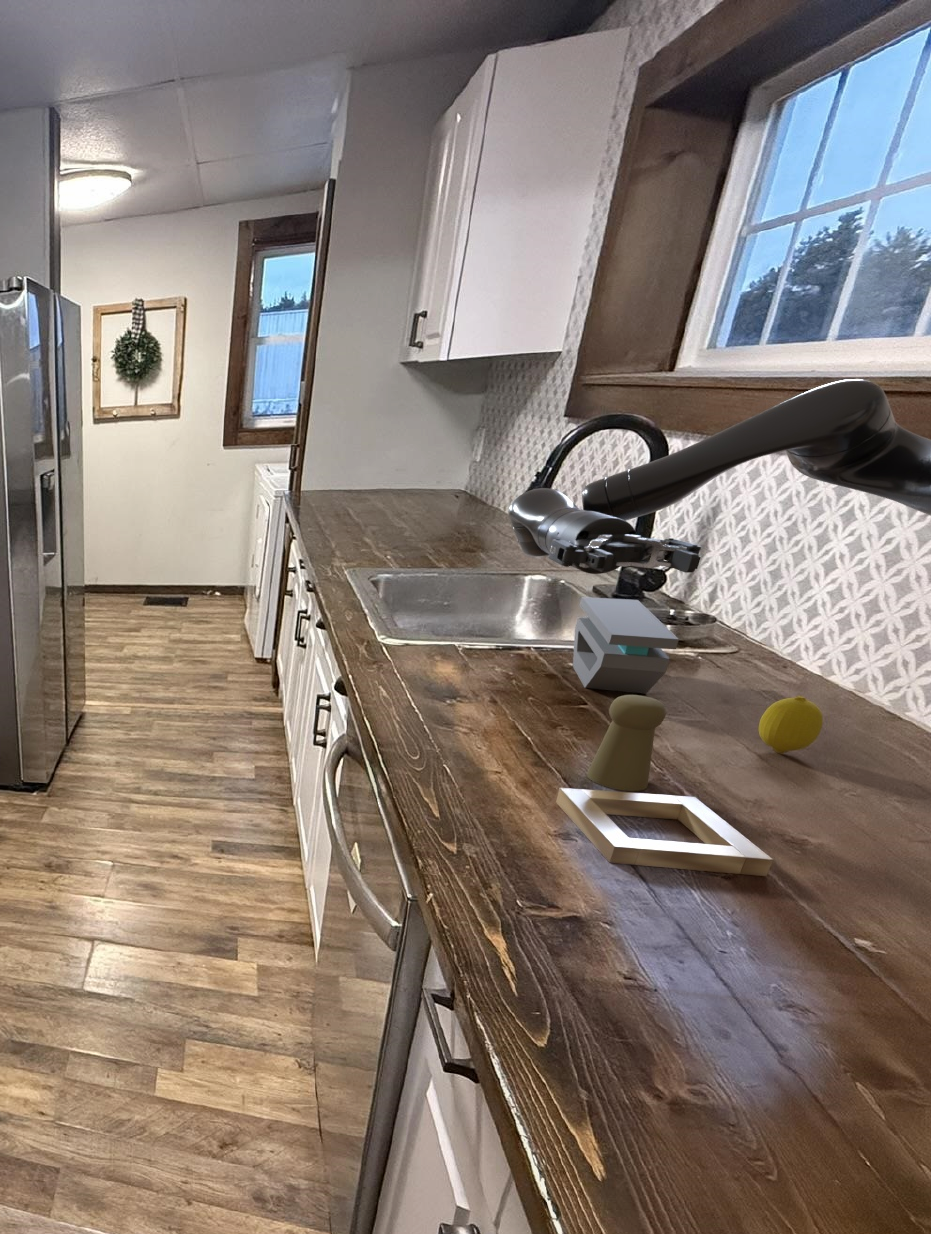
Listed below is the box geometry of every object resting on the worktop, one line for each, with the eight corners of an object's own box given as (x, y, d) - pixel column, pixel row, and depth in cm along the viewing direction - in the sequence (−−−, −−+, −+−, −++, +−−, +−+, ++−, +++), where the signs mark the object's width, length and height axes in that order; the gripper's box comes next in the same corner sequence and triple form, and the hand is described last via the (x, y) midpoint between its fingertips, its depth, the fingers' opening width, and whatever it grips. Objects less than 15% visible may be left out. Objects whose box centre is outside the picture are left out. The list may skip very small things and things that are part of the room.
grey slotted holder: (657, 708, 117) (679, 639, 113) (592, 701, 120) (611, 634, 116) (620, 660, 137) (638, 600, 133) (566, 655, 140) (581, 597, 136)
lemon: (819, 764, 98) (843, 705, 95) (764, 759, 100) (786, 702, 97) (793, 746, 103) (815, 690, 100) (741, 742, 105) (761, 687, 102)
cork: (656, 793, 93) (684, 709, 89) (595, 787, 95) (620, 705, 91) (636, 772, 98) (661, 691, 94) (579, 767, 100) (601, 688, 96)
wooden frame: (689, 811, 89) (695, 796, 88) (766, 876, 77) (773, 859, 76) (555, 802, 92) (559, 787, 92) (609, 862, 81) (614, 846, 80)
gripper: (535, 513, 107) (589, 532, 93) (657, 512, 103) (733, 531, 89) (523, 567, 110) (573, 593, 95) (641, 568, 106) (712, 595, 92)
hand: (650, 563), depth 92 cm, fingers open, 8 cm apart
